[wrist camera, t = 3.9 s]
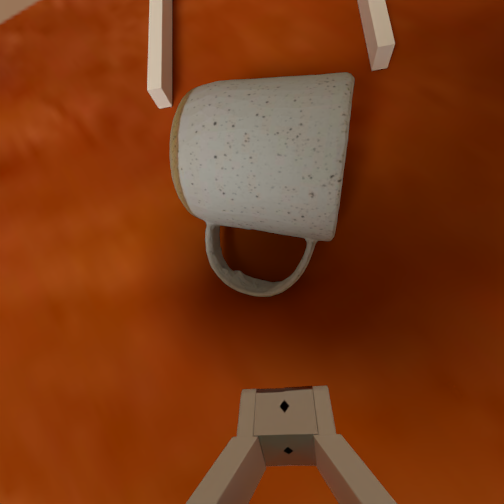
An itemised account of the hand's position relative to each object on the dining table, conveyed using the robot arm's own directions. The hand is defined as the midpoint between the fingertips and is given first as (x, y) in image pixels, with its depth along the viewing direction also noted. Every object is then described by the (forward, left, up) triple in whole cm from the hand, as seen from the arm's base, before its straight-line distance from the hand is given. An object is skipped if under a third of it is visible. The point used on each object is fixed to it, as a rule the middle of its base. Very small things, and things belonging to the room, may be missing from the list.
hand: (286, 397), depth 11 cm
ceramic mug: (+5, -8, -6) cm, 11 cm away
